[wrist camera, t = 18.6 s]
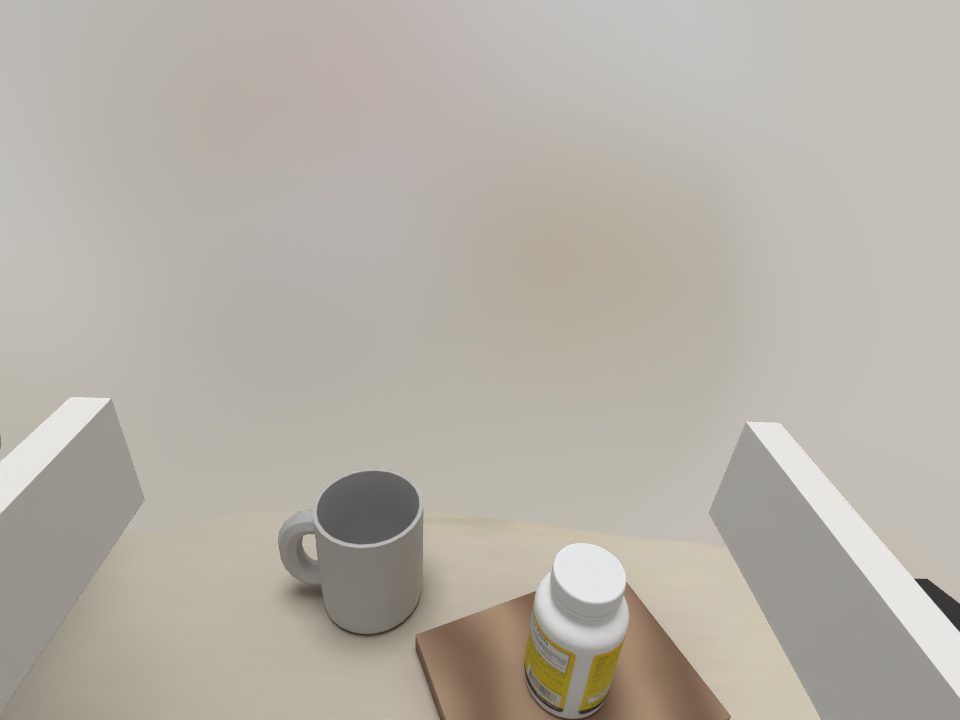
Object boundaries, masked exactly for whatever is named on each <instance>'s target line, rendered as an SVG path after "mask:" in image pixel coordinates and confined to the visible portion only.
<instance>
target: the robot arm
mask: <svg viewBox="0 0 960 720" xmlns="http://www.w3.org/2000/svg"><path fill="white" fill-rule="evenodd" d="M0 448H1V438H0ZM144 500H145V499H144V496H143V493H142V490H141V487H140V484H139V481H138V478H137V474H136V471H135V469H134V466H133V463H132V459H131V456H130V453H129V450H128V447H127V444H126V441H125V438H124V436H123V433H122V429H121V426H120V423H119V420H118V417H117V414H116V411H115V408H114V405H113V402H112V399H111V398H110V399H109V398H84V397H82V398H81V397H70V398H69V399H68V400H67V401H66V402H65V403H64V404H63V405H62V406H61V407H59V408H58V409H57V410H56V411H55V412H54V413H53V414H52V415H51V416H50V417H49V418H48V419H46V420H45V421H44V422H43V423H42V424H41V425H40V426H39V427H38V428H37V429H36V430H34V431H33V432H32V434H30V435H29V436H28V437H27V438H26V439H25V440H24V441H23V442H21V443H20V444H19V445H18V446H17V447H16V448H15V449H14V450H13V451H12V452H11V453H10V454H8V456H6V458H4V459H3V460H2V461H1V462H0V713H1V712H2V710H3V709H4V707H5V706H6V704H7V703H8V701H9V700H10V698H11V697H12V695H13V694H14V693H15V691H16V690H17V688H18V687H19V685H20V684H21V682H22V681H23V679H24V678H25V676H26V675H27V673H28V672H29V670H30V669H31V667H32V666H33V664H34V663H35V661H36V660H37V658H38V657H39V656H40V654H41V653H42V651H43V650H44V648H45V647H46V645H47V644H48V642H49V641H50V639H51V638H52V636H53V635H54V633H55V632H56V630H57V629H58V627H59V626H60V624H61V623H62V622H63V620H64V619H65V617H66V616H67V614H68V613H69V611H70V610H71V608H72V607H73V605H74V604H75V602H76V601H77V599H78V598H79V596H80V595H81V593H82V592H83V590H84V589H85V587H86V586H87V585H88V583H89V582H90V580H91V579H92V577H93V576H94V574H95V573H96V571H97V570H98V568H99V567H100V565H101V564H102V562H103V561H104V559H105V558H106V556H107V555H108V553H109V552H110V551H111V549H112V548H113V546H114V545H115V543H116V542H117V540H118V539H119V537H120V536H121V534H122V533H123V531H124V530H125V528H126V527H127V525H128V524H129V522H130V521H131V519H132V518H133V516H134V515H135V514H136V512H137V511H138V509H139V508H140V506H141V504H142V503H143V502H144ZM709 514H710V516H711V518H712V520H713V521H714V523H715V525H716V527H717V529H718V531H719V532H720V534H721V536H722V538H723V540H724V542H725V543H726V545H727V547H728V549H729V551H730V553H731V554H732V556H733V558H734V560H735V562H736V564H737V565H738V567H739V569H740V571H741V573H742V575H743V577H744V578H745V580H746V582H747V584H748V586H749V588H750V589H751V591H752V593H753V595H754V597H755V599H756V600H757V602H758V604H759V606H760V608H761V610H762V611H763V613H764V615H765V617H766V619H767V621H768V622H769V624H770V626H771V628H772V630H773V632H774V633H775V635H776V637H777V639H778V641H779V643H780V644H781V646H782V648H783V650H784V652H785V654H786V655H787V657H788V659H789V661H790V663H791V665H792V666H793V668H794V670H795V672H796V674H797V676H798V677H799V679H800V681H801V683H802V685H803V687H804V688H805V690H806V692H807V694H808V696H809V698H810V699H811V701H812V703H813V705H814V707H815V709H816V711H817V712H818V714H819V716H820V718H821V720H960V604H959V603H958V602H957V601H955V600H954V599H953V598H952V597H950V596H948V594H946V593H945V592H944V591H942V590H941V589H940V588H938V587H937V586H936V585H934V584H933V583H932V582H931V581H929V580H928V579H913V577H912V576H911V575H910V574H909V573H908V572H907V571H906V569H905V568H904V567H903V566H902V565H901V564H900V562H899V561H898V560H897V559H896V558H895V557H894V555H893V554H892V553H891V552H890V551H889V550H888V548H887V547H886V546H885V545H884V544H883V543H882V541H881V540H880V539H879V538H878V537H877V536H876V535H875V533H874V532H873V531H872V530H871V529H870V527H869V526H868V525H867V524H866V523H865V522H864V521H863V519H862V518H861V517H860V516H859V515H858V514H857V513H856V511H855V510H854V509H853V508H852V507H851V506H850V504H849V503H848V502H847V501H846V500H845V499H844V497H843V496H842V495H841V494H840V493H839V491H838V490H837V489H836V488H835V487H834V486H833V485H832V483H831V482H830V481H829V480H828V479H827V478H826V476H825V475H824V474H823V473H822V472H821V471H820V469H819V468H818V467H817V466H816V465H815V464H814V462H813V461H812V460H811V459H810V458H809V457H808V456H807V455H806V453H805V452H804V451H803V450H802V448H800V446H799V445H798V444H797V443H796V441H794V439H793V438H792V437H791V436H790V435H789V433H788V432H787V431H786V430H785V429H784V428H783V426H782V425H781V424H780V423H766V422H764V423H763V422H746V423H745V425H744V428H743V430H742V433H741V435H740V438H739V440H738V442H737V445H736V447H735V450H734V452H733V455H732V457H731V460H730V462H729V465H728V467H727V469H726V472H725V474H724V477H723V479H722V482H721V484H720V486H719V489H718V491H717V494H716V496H715V499H714V501H713V504H712V506H711V508H710V511H709Z"/></svg>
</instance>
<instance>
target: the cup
mask: <svg viewBox="0 0 960 720" xmlns="http://www.w3.org/2000/svg"><path fill="white" fill-rule="evenodd" d="M306 534H315V538H316V547H317V556H318V561H316V560H313V559H311V558H310V557H308V555H307V554H306V553H305V551H304V549H303V547H302V538H303V535H306ZM278 544H279V550H280V556H281V560H282V562H283V564H284V567H285V568H286V570H287V571H288V572H289V573H290V574H291V575H292V576H293V577H295V578H296V579H298V580H300V581H301V582H304V583H308V584H312V585H321V587H322V593H323V599H324V605H325V609H326V611H327V613H328V614H329V616H330V618H331V619H332V620H333V621H334V622H335V623H336V624H337V625H339V626H340V627H341V628H344V629H346V630H348V631H351V632H354V633H360V634H375V633H380V632H383V631H386V630H389V629H392V628H393V627H395V626H396V625H398V624H400V623H401V622H403V621H404V620H405V619H406V618H407V617H408V616H409V615H410V614H411V613H412V612H413V610H414V609H415V607H416V605H417V603H418V602H419V598H420V594H421V589H422V562H423V496H422V494H421V492H420V490H419V487H418V486H417V485H416V484H415V483H414V482H413V481H412V480H411V479H409V478H408V477H406V476H404V475H403V474H401V473H398V472H395V471H392V470H387V469H379V468H371V469H361V470H356V471H352V472H349V473H346V474H344V475H342V476H339V477H337V478H336V479H334V480H333V481H331V482H330V483H328V484H327V485H326V486H325V487H324V488H323V489H322V490H321V491H320V493H319V494H318V496H317V498H316V500H315V502H314V506H313V509H307V510H303V511H299V512H297V513H296V514H294V515H293V516H291V517H290V518H289V519H288V520H287V521H285V522H284V524H283V526H282V528H281V529H280V531H279V539H278Z"/></svg>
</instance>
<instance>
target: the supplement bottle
mask: <svg viewBox="0 0 960 720" xmlns="http://www.w3.org/2000/svg"><path fill="white" fill-rule="evenodd" d="M625 587H626V574H625V571H624V569H623V566H622V565H621V563H620V562H619V561H618V559H617V558H616V557H615V556H614V555H612V554H611V553H610V552H608V551H607V550H605V549H603V548H601V547H599V546H596V545H592V544H587V543H577V544H572V545H569V546H566V547H564V548H563V549H562V550H560V551H559V552H558V554H557V555H556V557H555V559H554V562H553V567H552V571H550V572H549V573H548V574H546V575H545V576H544V578H543V579H542V580H541V582H540V583H539V585H538V587H537V590H536V594H535V597H534V603H533V609H532V615H531V622H530V628H529V634H528V640H527V647H526V653H525V660H524V673H525V680H526V683H527V686H528V688H529V690H530V692H531V694H532V696H533V697H534V698H535V700H536V701H537V702H538V703H539V704H540V705H541V706H542V707H543V708H544V709H546V710H547V711H549V712H550V713H552V714H554V715H557V716H559V717H563V718H568V719H579V718H584V717H587V716H589V715H591V714H593V713H594V712H596V711H597V710H598V709H599V708H600V707H601V706H602V704H603V703H604V701H605V699H606V697H607V695H608V692H609V689H610V686H611V683H612V679H613V675H614V672H615V668H616V665H617V662H618V659H619V655H620V652H621V649H622V646H623V642H624V639H625V636H626V633H627V629H628V624H629V610H628V606H627V602H626V599H625V597H624V591H625Z"/></svg>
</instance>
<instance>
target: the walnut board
mask: <svg viewBox="0 0 960 720" xmlns="http://www.w3.org/2000/svg"><path fill="white" fill-rule="evenodd" d="M535 594H536V591H535V592H532V593H530V594H527V595H524V596H521V597H519V598H516V599H513V600H510V601H508V602H505V603H502V604H499V605H497V606H494V607H491V608H488V609H486V610H483V611H480V612H477V613H475V614H472V615H469V616H466V617H464V618H461V619H458V620H456V621H453V622H450V623H447V624H445V625H442V626H439V627H436V628H434V629H431V630H428V631H425V632H423V633H420V634H417V635H416V651H417V654H418V657H419V660H420V662H421V665H422V668H423V671H424V674H425V677H426V680H427V682H428V685H429V688H430V691H431V694H432V697H433V699H434V702H435V705H436V708H437V711H438V714H439V717H440V719H441V720H729V719H730V717H731V716H730V714H729V713H728V712H727V711H726V709H725V708H724V707H723V705H722V704H721V703H720V702H719V700H718V699H717V698H716V696H715V695H714V694H713V693H712V691H711V690H710V689H709V687H708V686H707V685H706V684H705V682H704V681H703V680H702V678H701V677H700V676H699V675H698V673H697V672H696V671H695V669H694V668H693V667H692V666H691V664H690V663H689V662H688V660H687V659H686V658H685V657H684V655H683V654H682V653H681V652H680V650H679V649H678V648H677V646H676V645H675V644H674V643H673V641H672V640H671V639H670V637H669V636H668V635H667V634H666V632H665V631H664V630H663V628H662V627H661V626H660V625H659V623H658V622H657V621H656V619H655V618H654V617H653V616H652V614H651V613H650V612H649V610H648V609H647V608H646V607H645V605H644V604H643V603H642V601H641V600H640V599H639V598H638V596H637V595H636V594H635V592H634V591H633V590H632V589H631V587H630V586H629V585H628V583H627V582H626V587H625V591H624V597H625V599H626V602H627V606H628V610H629V624H628V629H627V633H626V636H625V639H624V642H623V646H622V649H621V652H620V655H619V659H618V662H617V665H616V668H615V672H614V675H613V679H612V683H611V686H610V689H609V692H608V695H607V697H606V699H605V701H604V703H603V704H602V706H601V707H600V708H599V709H598V710H597V711H596V712H594V713H593V714H591V715H589V716H587V717H584V718H579V719H568V718H563V717H559V716H557V715H554V714H552V713H550V712H549V711H547V710H546V709H544V708H543V707H542V706H541V705H540V704H539V703H538V702H537V701H536V700H535V698H534V697H533V696H532V694H531V692H530V690H529V688H528V686H527V683H526V680H525V673H524V660H525V653H526V647H527V640H528V634H529V628H530V622H531V615H532V609H533V603H534V597H535Z"/></svg>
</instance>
